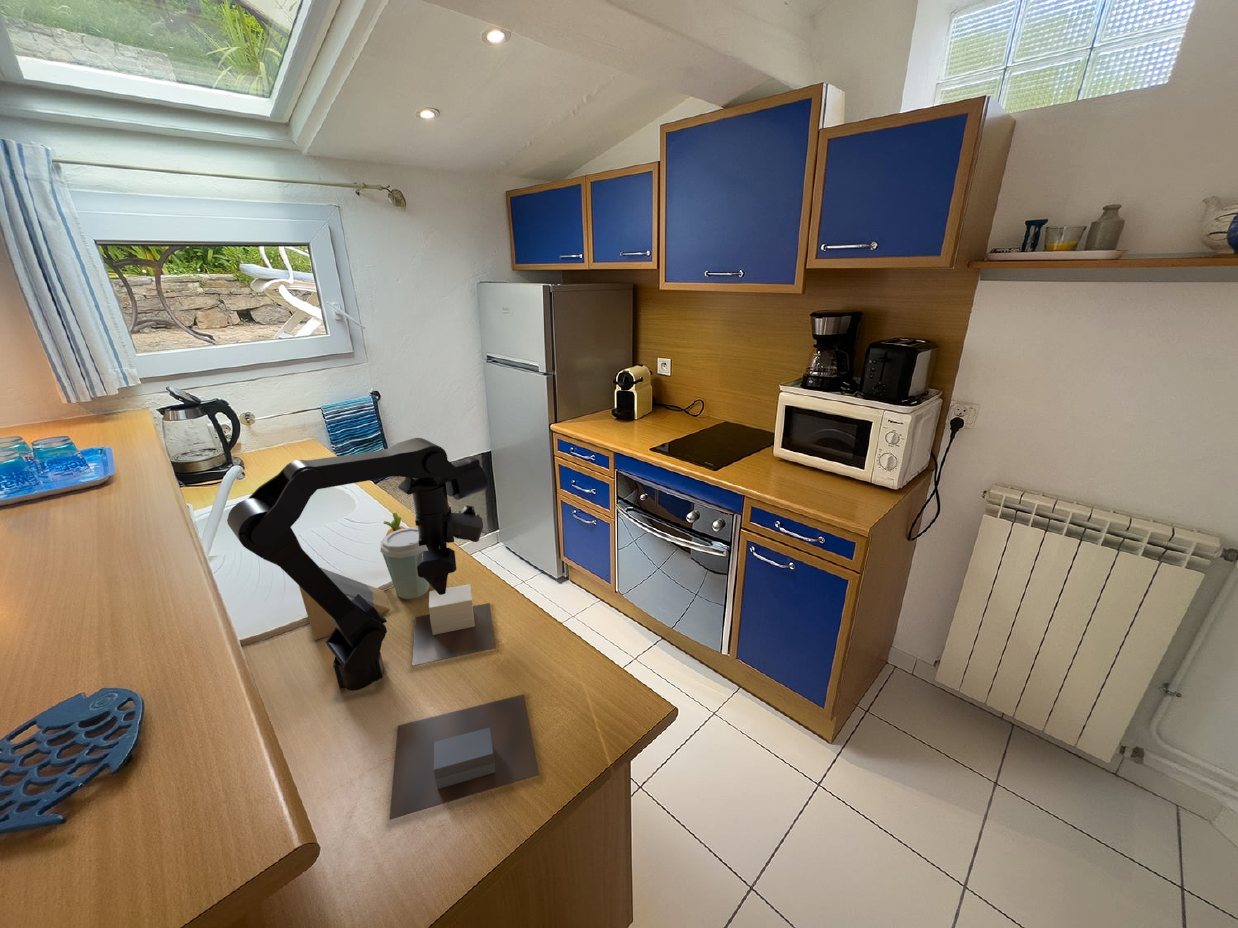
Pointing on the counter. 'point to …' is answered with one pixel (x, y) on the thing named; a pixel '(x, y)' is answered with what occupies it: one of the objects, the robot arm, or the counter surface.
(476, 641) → the back board
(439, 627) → the cream books
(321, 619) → the sandwich container
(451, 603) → the cream book
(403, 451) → the robot arm
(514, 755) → the front board
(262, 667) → the counter surface
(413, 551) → the disposable coffee cup
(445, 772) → the grey books
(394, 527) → the carrot
